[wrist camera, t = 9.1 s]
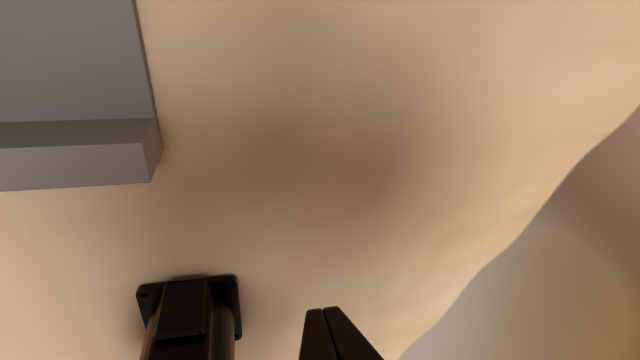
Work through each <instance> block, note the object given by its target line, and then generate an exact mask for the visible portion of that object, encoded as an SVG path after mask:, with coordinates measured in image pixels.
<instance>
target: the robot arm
mask: <svg viewBox="0 0 640 360" xmlns="http://www.w3.org/2000/svg"><path fill="white" fill-rule="evenodd" d="M229 283H231V284H229ZM136 298H137V302H138V305H139V308H140V311H141V315H142V318H143V321H144V325H145V328H146V334H145V338H144V343H143V347H142V351H141V356H140V360H234V341H236V340H239V339H241V337H242V325H241V315H240V304H239V294H238V283H237V278H236V277H234V276H223V277H214V278H205V279H196V280H187V281H178V282H169V283H161V284H152V285H143V286H140V287H139V288H138V289H137V292H136ZM299 360H384V359H383V358H382V357H381V355H380V354H379V353H378V352H377V351H376V350H375V349H374V347H373V346H372V345H371V344H370V343H369V342H368V340H367V339H366V338H365V337H364V336H363V335H362V333H361V332H360V331H359V330H358V329H357V328H356V326H355V325H354V324H353V323H352V322H351V321H350V319H349V318H348V317H347V316H346V315H345V314H344V312H343V311H342V310H341V309H340V308H339V307H337V306H333V307H325V308H323V310H322V309H320V308H318V309H311V310H307V312H306V317H305V323H304V329H303V336H302V342H301V348H300V354H299Z"/></svg>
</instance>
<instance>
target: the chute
mask: <svg viewBox="0 0 640 360" xmlns="http://www.w3.org/2000/svg"><path fill="white" fill-rule="evenodd" d="M162 150H163V146H162V141H161V135H160V130H159V125H158V120H157V115H156V109H155V104H154V99H153V94H152V88H151V83H150V78H149V73H148V67H147V62H146V57H145V52H144V47H143V41H142V36H141V31H140V26H139V20H138V15H137V10H136V5H135V0H0V192H3V191H20V190H37V189H53V188H70V187H86V186H103V185H119V184H136V183H150V182H151V180H152V177H153V174H154V172H155V169H156V166H157V164H158V161H159V158H160V156H161V153H162Z"/></svg>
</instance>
